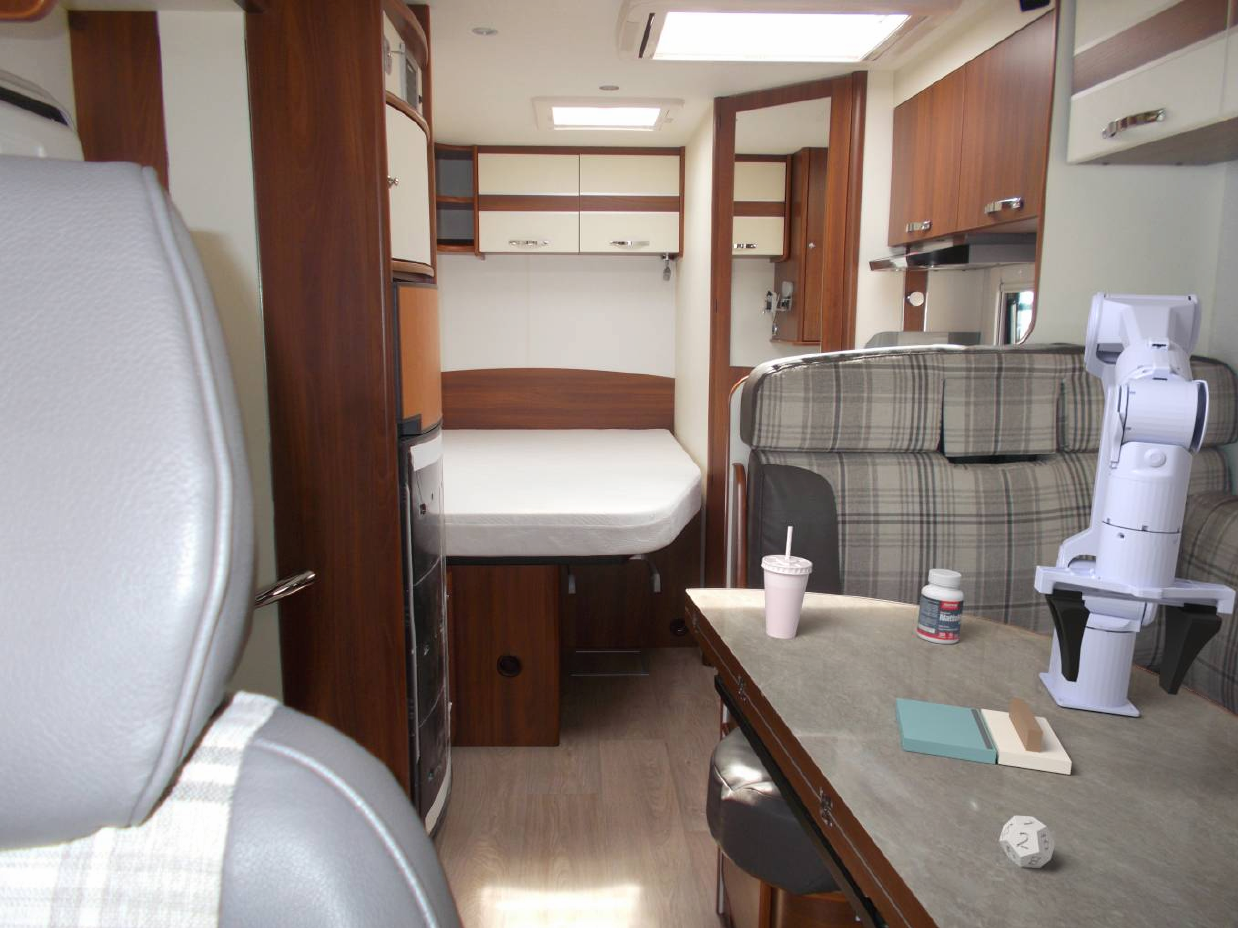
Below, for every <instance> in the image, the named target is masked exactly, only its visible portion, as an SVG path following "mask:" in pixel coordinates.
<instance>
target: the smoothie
mask: <svg viewBox="0 0 1238 928" xmlns="http://www.w3.org/2000/svg"><path fill="white" fill-rule="evenodd" d="M793 528H794V527H793V526H792V525H791V526H790V525H788V526H787V537H786V538H787V539H786V547H785V554H770V555H765V556H763V557H762V558H761V559H762V560H761V565H760V566H761V568H762V569H763V583H764V584H763V585H764V609H765V634H766V635H767V636H769V637H771V638H773V639H774V638H775V639H781V640H789V639H794V638H795V637H796V634H797V630H798V626H799V620H800V616H801V611H802V607H803V602H804V600H805V599H804V598H805V594H806V589H807V585H808V582H809V581H808V580H809V576H810V574H811V573H813V562H812V561H810V560H808V559H805V558H803V557H799V556H794V555H791V551H792V550H791V548H792V539H793V538H792V537H793Z"/></svg>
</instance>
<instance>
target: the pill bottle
mask: <svg viewBox="0 0 1238 928" xmlns="http://www.w3.org/2000/svg"><path fill="white" fill-rule="evenodd" d="M962 578H963V577H962V574H961V573H960V572H958V571H955V570H951V569H947V568H931V569H929V571H928V579H927V580H928V582H929V584H927V585H925V586H923V588H922V589H921V594H920V601H919V607H918V608H919V609H918V618H917V627H916V635H917V636H918V637H919V638H920V639H922V640H924V641H927V642H929V643H935V644H942V645H953V644H956V643H958V642H959V640H960V634H961V626H962V617H963V616H962V615H963V610H964V602H965V596H964V595H965V594H964V592H962V590H960V589H959V587H960V586H961V584H962Z"/></svg>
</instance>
